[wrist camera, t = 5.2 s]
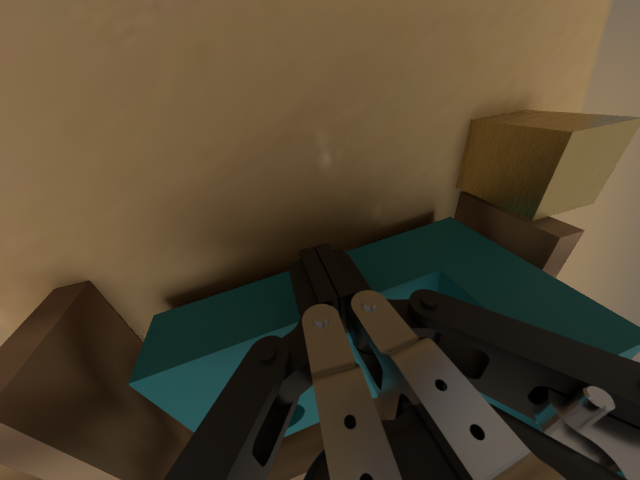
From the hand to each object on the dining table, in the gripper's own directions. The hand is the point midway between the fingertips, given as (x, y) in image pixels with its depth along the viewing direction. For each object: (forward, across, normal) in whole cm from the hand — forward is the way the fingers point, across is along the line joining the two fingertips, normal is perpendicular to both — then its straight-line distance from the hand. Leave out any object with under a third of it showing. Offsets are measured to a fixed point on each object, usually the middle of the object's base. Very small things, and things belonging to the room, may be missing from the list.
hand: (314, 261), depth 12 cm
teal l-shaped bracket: (+3, -1, +6) cm, 7 cm away
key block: (+3, -12, -3) cm, 13 cm away
